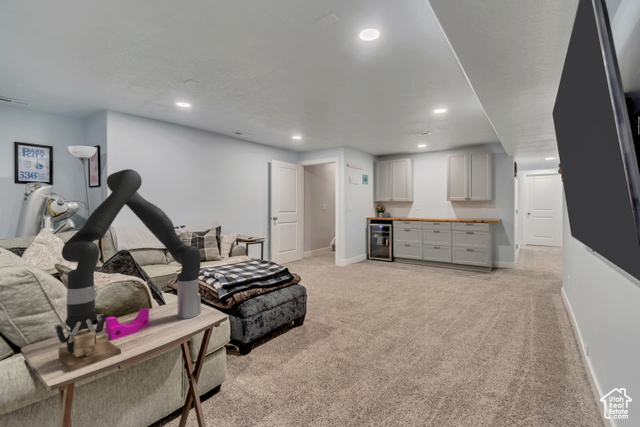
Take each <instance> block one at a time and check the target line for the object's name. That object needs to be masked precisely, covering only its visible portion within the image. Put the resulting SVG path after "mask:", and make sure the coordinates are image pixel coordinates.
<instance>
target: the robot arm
mask: <svg viewBox="0 0 640 427" xmlns="http://www.w3.org/2000/svg"><path fill="white" fill-rule="evenodd" d="M106 178H107V179H106V184H107V187H108V189H109V190H110V191H111V193H110V194H109V195H108V196H107V198H105V199H104V201H103V202H102V203H101V204H99V205H98V206H97V207H96V208H95V209H94V210H93V211H92V213H91V214H90V215H89V217H88V218H87V220H86V221H85V223H84V224H83V225H82V227H81V228H80V229H79V230H78V231H77V232H75V233H74V234H73V235H72V236H71V237H70V238H69V239H68V240H67V241H66V242H65V244H63V247H62V250H61V256H62V259H63V260H65V261H66V262H69V263H77V265H76V268H75V269H73V270H70V271H69V272H68V273H67V292H66V319H65V320H64V322H62V323H59V324H55V325H54V328H55V329H54V330H55V333H56V335H57V338H58V341H59V342H61V343H62V344H64V343H65V344H66V345H67V351H68V352H70V353H74V342H73V339H74V337H75V335H76V334H77V331H80V330H82V329H88V331H90V332H93V333H95V344H96V336H97V334H99V333H102V332H103V329H104V325H105V318H107V315H106V314H104V313H100V314H97V313H96V289H95V276H94V275H95V274H94V273H95V270H96V269H97V264H98V261H99V257H100V249H99V247H98V245H97V243H95V241H98V240H101V239H103V238H104V237H105V235H106V234H107V232H108V230H109V229H110V227H111V226H112V224H113V223H114V221H115V220H116V218H117V216H118V214H119V213H120V212H121V211H122V209H123V208H124V206H127V207H128V208H129V209H130V211H132V213H134V215H135V216H136V217H137V218H138V219H139V220H140V221H141V222H142V224H144V226H145V227H146V228H147V229H148V230H149V232H150V233H152V234H153V235H154V237H155V238H156V239H157V240H158V241H159V242H160V243H161V244H162V245H163V246H164V247H165V248H166V250H167V251H168V253H169V254H170V255H171V257H172V258H173V260H174V261H175V262H176V263H178V264H179V265H181V271H180V272H179V273H178V274H177V278H176V279H177V280H176V281H177V318H178V319H183V320H184V319H192V318H196V317H197V316H199V315H201V313H202V310H201V309H202V306H201V303H202V301H201V300H202V299H201V296H202V295H201V293H199V292H200V290H199V289H200V288H199V286H200V285H199V281H200V280H199V277H200V276H199V275H200V273H201V263H202V262H201V256H202V255H201V252H200V249H199V248H198V247H197V246H194V245H188V244H186V243H185V242H184V241H183V240H182V239H181V238H180V237H179V236H178V234H177V232H176V229H175V227H174V224H173V222H172V220H171V219H170V217H169V216H168V215H167V214H166V213H165V211H163V209H161V208H160V207H158V206H157V205H155V204H154V203H152V202H150V201H148V200H146V199H145V198H144V197H142V195H141V194H140V193H139V192H138V190H139V189H140V188H141V186H142V177H141V175H140V173H138V171H136V170H133V169H131V168H130V169H129V168H128V169H123V170H119V171H116V172H113V173H111V174H109V175H108V176H107V177H106ZM95 320H97V324H96V328H95V327H94V326H93V324H94V322H95ZM66 326H67V327H68V328H69V330H68V334H67V336H65V333H64V330H65V329H66Z"/></svg>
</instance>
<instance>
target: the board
mask: <svg viewBox="0 0 640 427" xmlns="http://www.w3.org/2000/svg"><path fill="white" fill-rule="evenodd" d="M121 354H122V349H121V348H120V347H118V346H116V344H114V343H112V342H110V341H109V338H108V334H107V333H106V332H105V333H103V334H101V335H96V344H95V351H94V352H92V354H91V355H90V356H86V355H82V356H79V357H76V356H75V355H74V354H72V353H70V352H68V351H67V344H65V345H63V346H59V347H58V360H59V361H60V362H61V364H63V365H64V366H65V367H66V368H67V369H68V370H69V371H70V372H73V371H75V370H76V371H77V370H79V369H81V368H84V367H87V366H89V365H93V364H95V363H98V362H101V361H103V360H107V359H110V358H112V357H115V356H118V355H121Z"/></svg>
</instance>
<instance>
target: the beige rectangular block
mask: <svg viewBox="0 0 640 427" xmlns="http://www.w3.org/2000/svg"><path fill="white" fill-rule="evenodd" d="M73 342H74V353H72V354H74V355H75V356H76V357H79V356H82V355H86V356H90V355H91V354H92V352H94V351H95V333H93V332H90V331H88V329H82V330H80V331H77V334H76V335H75V337H74V339H73Z"/></svg>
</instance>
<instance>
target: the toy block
mask: <svg viewBox="0 0 640 427" xmlns="http://www.w3.org/2000/svg"><path fill="white" fill-rule="evenodd" d="M149 312H150V310H149V308H146V307H142V308H139V312H138V314H137V316H136V317H135V318H134V319H132V320H131V321H129V322H127V323H120V322H119V320H118V318H117V317H115V316H108V317H106V318H105V322H104V325H105V329H104V330H105V334H106V333H107V334H108V339H109V340H112V341H113V340H116V339H120V338H123V337H126V336H129V335H133V334H135V333H139V332H141V329H143V328H146V327H149V326H150V313H149Z"/></svg>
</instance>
